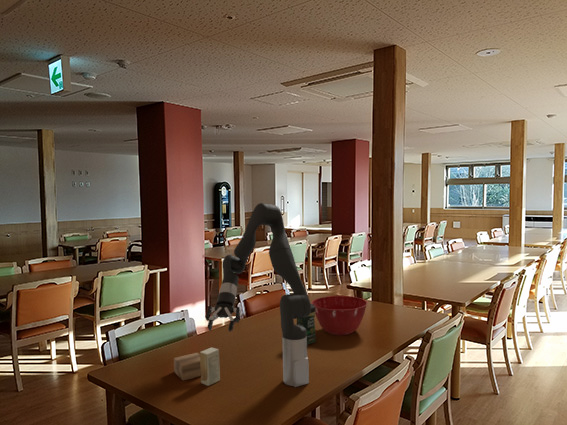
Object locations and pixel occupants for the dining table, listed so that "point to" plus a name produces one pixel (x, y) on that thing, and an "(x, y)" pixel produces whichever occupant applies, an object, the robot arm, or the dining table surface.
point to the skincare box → (209, 366)
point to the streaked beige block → (187, 366)
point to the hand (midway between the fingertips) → (219, 330)
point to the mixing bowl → (339, 313)
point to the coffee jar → (309, 325)
